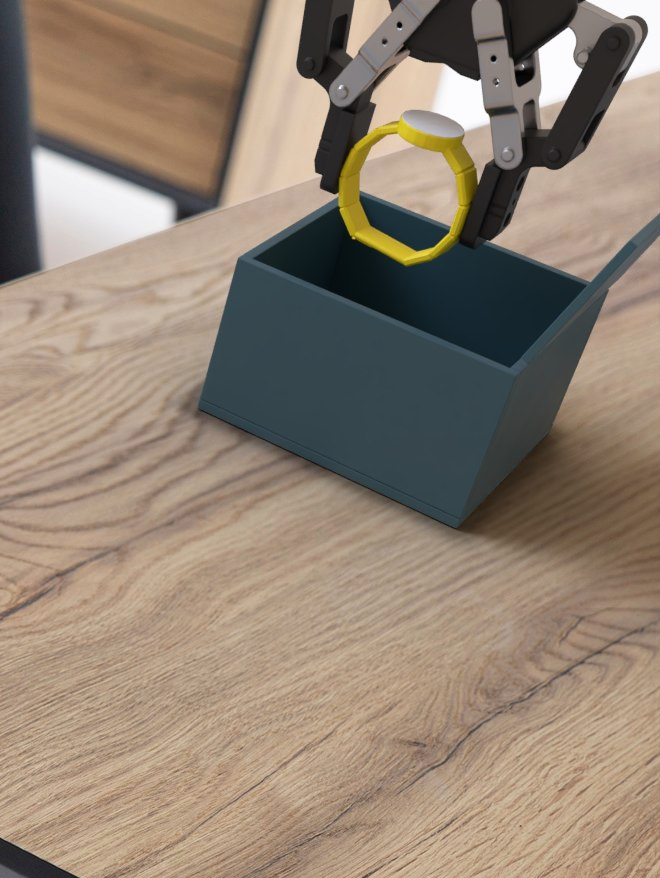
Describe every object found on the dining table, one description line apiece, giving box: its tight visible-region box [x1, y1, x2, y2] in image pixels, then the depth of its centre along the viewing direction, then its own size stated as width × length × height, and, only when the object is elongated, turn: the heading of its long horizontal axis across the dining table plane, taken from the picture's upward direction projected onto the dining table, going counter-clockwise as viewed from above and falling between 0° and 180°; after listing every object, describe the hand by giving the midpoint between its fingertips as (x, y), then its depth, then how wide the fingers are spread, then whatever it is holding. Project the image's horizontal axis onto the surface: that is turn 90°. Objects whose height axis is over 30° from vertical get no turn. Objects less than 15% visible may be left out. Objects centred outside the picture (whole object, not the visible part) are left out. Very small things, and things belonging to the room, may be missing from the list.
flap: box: [521, 212, 660, 364], centre depth 71 cm, size 6×12×1 cm
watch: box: [338, 109, 479, 267], centre depth 75 cm, size 6×3×6 cm, turn 51°
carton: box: [197, 190, 610, 529], centre depth 79 cm, size 13×12×8 cm
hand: (402, 213), depth 76 cm, fingers closed on watch, 6 cm apart
